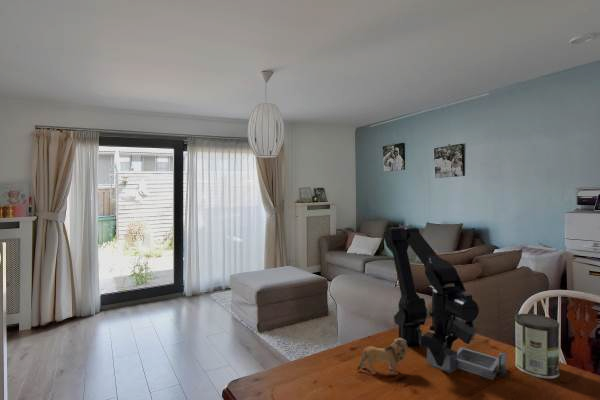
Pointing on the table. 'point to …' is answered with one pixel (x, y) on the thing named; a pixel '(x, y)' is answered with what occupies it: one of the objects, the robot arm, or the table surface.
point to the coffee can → (537, 345)
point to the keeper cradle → (481, 363)
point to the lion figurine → (385, 355)
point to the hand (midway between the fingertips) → (443, 362)
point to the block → (444, 360)
